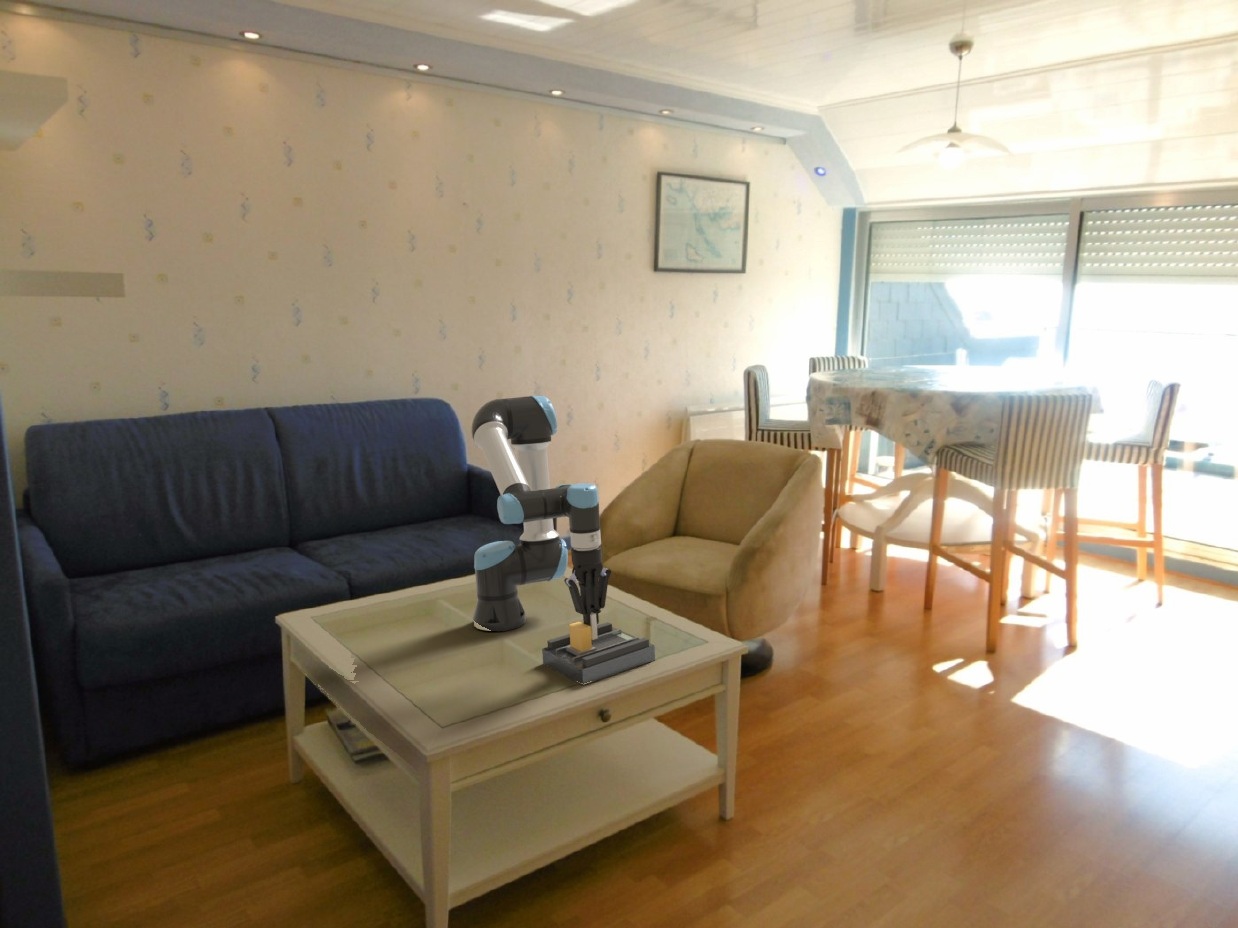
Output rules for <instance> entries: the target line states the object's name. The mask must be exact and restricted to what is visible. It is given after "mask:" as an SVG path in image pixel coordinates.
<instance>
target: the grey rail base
mask: <svg viewBox="0 0 1238 928" xmlns="http://www.w3.org/2000/svg"><path fill="white" fill-rule="evenodd" d="M597 636H598V638H597V639H594V640H592V639H591V643H592V646H593V647H595V648H596V650H595V651H592V652H589V653H586V654H583V655H580V656H576V655H574V654H572V653H570V652H568V651H566V647H567V646H570V644H567V645H564V646H561V647H558V648H555V649H550V648H548V646H546V647H544V648H541V651H542V663H543V665H545V666H547V665H548V666H549V667H548V666H547V667H548V668H550V667H551V668H550V669H552V670H554V671H556V672H558V673H560V674H561V675H563V674H564V675H563V676H565V677H567V678H569V679H571V680H573V681H575V682H576V681H578V682H580V683H583V684H584V683H587V682H590V681H594V682H597V681H599V680H603V679H605V678H608V677H610V676H614V675H617V674H619V673H622V672H625V671H629V670H631V669H634V668H637V667H639V666H643V665H645V664H648V663H651V662H654V661H655V660H656V652H655V651H656V650H655V644H653V643H651V642H649V647H646V648H643V649H640V650H637V651H634V652H631V653H628V654H625V655H622V656H619V657H616V658H613V659H610V660H607V661H604V662H601V663H598V664H595V665H592V666H589V667H585V666H583V664H582V658H584V657H587V656H590V655H593V654H596V653H599V652H602V651H605V650H608V649H611V648H614V647H617V646H620V645H623V644H626V643H629V642H632V641H636V640H639V639H640V636H634V635H632V634H629V633H627V632H625V631H622V629H621V628H615V627H613V626H612V631H609V632H606V633H602V634H599V635H597ZM596 680H597V681H596ZM578 682H577V683H578ZM580 683H579V684H580Z"/></svg>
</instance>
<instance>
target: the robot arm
mask: <svg viewBox="0 0 1238 928" xmlns="http://www.w3.org/2000/svg"><path fill="white" fill-rule="evenodd" d="M557 427H558V420H557V415H556V411H555V409H554V406H553V404H552V401H550V399H549V398H548V397H547V396H543V395H528V396H518V397H510V398H495V399H493V400H489V401H488V402H486V403H485V404H483V405H482V406H481V407H480V408H479V409H478V410H477V412H476V413H475V415H474V417H473V419H472V424H471V436H472V437H471V438H472V439H473V441H474V444H475V446H476V447H477V448H478V449H479V450H481V452H482V455H483V456H484V458H485V460H486V463H487V465H488V468H489V471H490V473H491V475H492V478H493V480H494V482H495V484H496V485H495V486H496V487H497V489H498V491H499V494H500V495H499V496H498V498H497V504H496V509H497V513H498V518H499V521H500V522H501V523H502V524H504V525H513V524H517V525H518V524H522V523H523V533H522V534H521V535H520V536H519V544H515V543H514V542H513V541H512V540H500V541H498V540H497V541H492V542H490V543H486V544H484V545H482V546H480V547H479V548H478V549H476V551H475V553H474V559H473V560H474V561H473V563H474V565H473V569H474V572H475V575H474V576H475V585H476V597H477V600H476V605H475V610H474V613H473V617H472V621H473V620H474V621H475V622H476V623H478V624H479V625H481V626H482V627H485V628H487V629H489V630H491V631H502V632H508V631H512V630H515V629H517V628H521V627H522V626H523V625H524V624H525V623H526V621H527V618H526V611H525V609H524V607H523V604H522V602H521V599H520V598H519V591H518V587H519V586H525V585H530V584H537V583H543V582H551V581H553V580H558V579H561V578H562V577H563V576H564V575H565V573H566V571H567V567H568V562H569V561H568V560H569V554H568V553H569V552H568V551H569V550H568V548H567V543H566V541H565V540H564V539H563V538H560V533H559V532H558V531H557V530H555V529H554V519H559V518H565V517H568V525H569V541H570V547H571V550H570V552H571V563H572V571H571V575H570V576H569V577H566V578H564V583H565V585H566V586H567V588H568V591H569V593H570V594H569V595H570V597H571V600H572V604H573V606H574V610H575V612H576V613H578V614H580V615H582V617H583V619H582V620H583V622H582V623H584V624H586V625H588V626H590V627H591V639H592V640H594V639H597V638H598V636H597V625H599V623H600V620H599V619H600V618H599V614H601V612H602V610H601V609H604V608H605V607H606V602H607V601H606V600H607V593H608V587H609V585H608V584H609V579H610V577H611V575H612V570H611V569H609V568H605V566H604V565H603V563H602V561H603V552H602V551H603V550H602V548H603V547H602V546H601V545H602V539H601V538H602V537H601V536H602V534H601V520H600V497H599V494H598V493H599V492H598V491H599V490H598V487H597V485H595V484H594V483H588V482H580V483H574V484H567V483H562V484H559V485H557V486H555V487H554V488H551V485H550V484H551V483H550V482H551V481H550V471H549V460H548V459H549V458H548V447H549V445H550V444H551V443H552V436H554V435H556V434H557V431H558V428H557ZM509 440H510V442H509ZM512 447H513V448H514V449H515V450H516V452H517V457H516V455H515V453H514V450H513V448H512ZM577 584H578V585H577Z"/></svg>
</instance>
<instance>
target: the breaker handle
mask: <svg viewBox="0 0 1238 928" xmlns="http://www.w3.org/2000/svg"><path fill="white" fill-rule="evenodd" d="M568 628H569V629H568V630H569V634H570V646H567V647H566V651H568V652H570V653H572V654H574V655H576V656H580V655H583V654H586V653H589V652H592V651H595V650H596V648H595V647H593V646H592V643H591V627H590V626H588V625H586V624H584V622H581V621H576V622H573V623H570V624H568Z"/></svg>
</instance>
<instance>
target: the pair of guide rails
mask: <svg viewBox="0 0 1238 928" xmlns="http://www.w3.org/2000/svg"><path fill="white" fill-rule="evenodd" d="M612 627H613V624H612V623H611V622H604V623H601V624H597V635H599V634H602V633H606V632H609V631H612ZM546 641H547V647H548V648H550V649H555V648H558V647H561V646H564V645H567V644H570V633H569V634H568V633H567V634H565V635H562V636H558V637H555V638H553V639H549V640H546ZM649 643H650V639H648V638H646V637H641V638H639V640H636V641H632V642H629V643H626V644H623V645H620V646H617V647H614V648H611V649H608V650H605V651H602V652H599V653H596V654H593V655H590V656H587V657H584V658H582V664H583V666H585V667H589V666H592V665H595V664H598V663H601V662H604V661H607V660H610V659H613V658H616V657H619V656H622V655H625V654H628V653H631V652H634V651H637V650H640V649H643V648H646V647H649Z"/></svg>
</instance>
